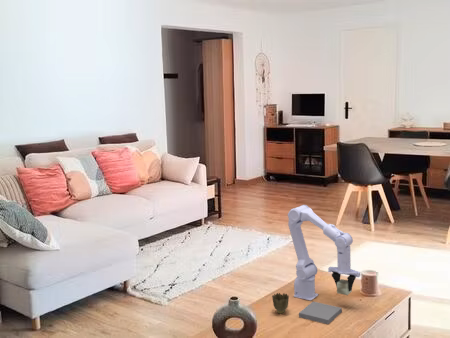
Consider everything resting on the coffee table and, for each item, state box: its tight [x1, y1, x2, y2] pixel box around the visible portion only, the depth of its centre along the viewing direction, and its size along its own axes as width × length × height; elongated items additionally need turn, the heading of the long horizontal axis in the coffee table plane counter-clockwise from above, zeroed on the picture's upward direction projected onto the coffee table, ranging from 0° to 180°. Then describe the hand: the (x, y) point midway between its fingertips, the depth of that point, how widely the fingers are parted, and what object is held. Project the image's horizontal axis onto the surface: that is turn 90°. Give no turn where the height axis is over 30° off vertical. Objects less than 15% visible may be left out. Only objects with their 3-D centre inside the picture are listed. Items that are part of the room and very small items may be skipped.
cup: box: [271, 292, 290, 315], centre depth 233 cm, size 8×7×8 cm
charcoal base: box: [298, 301, 343, 325], centre depth 230 cm, size 14×14×2 cm
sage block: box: [336, 278, 353, 296], centre depth 235 cm, size 5×5×5 cm
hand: (344, 289), depth 235 cm, fingers closed on sage block, 5 cm apart
